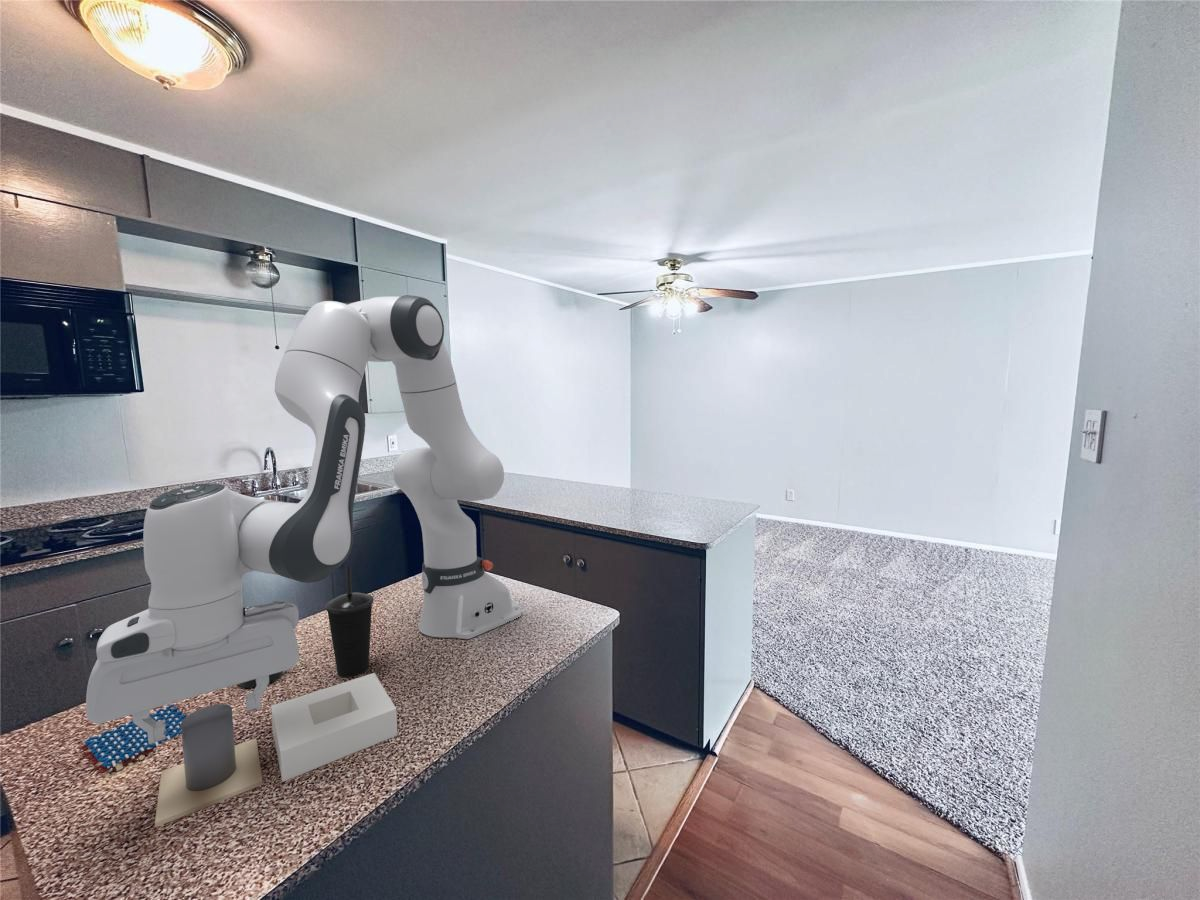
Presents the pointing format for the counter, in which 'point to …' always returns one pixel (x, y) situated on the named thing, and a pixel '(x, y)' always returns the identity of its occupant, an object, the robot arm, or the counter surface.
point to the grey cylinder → (208, 747)
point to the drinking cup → (350, 630)
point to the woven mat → (129, 742)
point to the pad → (183, 801)
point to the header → (331, 724)
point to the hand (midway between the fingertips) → (208, 723)
